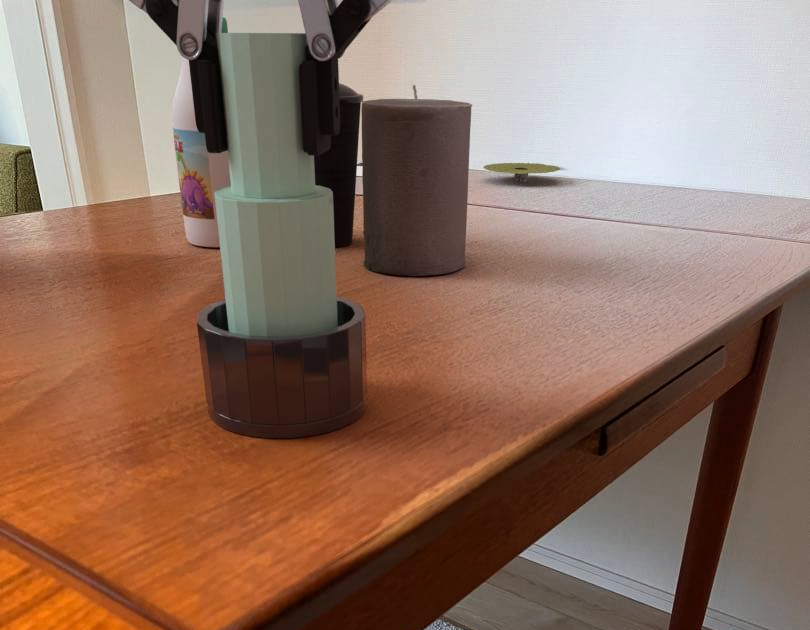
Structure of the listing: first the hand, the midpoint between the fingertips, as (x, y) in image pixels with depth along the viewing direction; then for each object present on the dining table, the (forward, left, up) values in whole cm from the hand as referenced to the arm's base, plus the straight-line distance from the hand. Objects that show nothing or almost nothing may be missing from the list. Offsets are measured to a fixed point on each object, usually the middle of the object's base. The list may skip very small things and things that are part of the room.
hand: (270, 146), depth 42 cm
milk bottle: (-18, +43, -14) cm, 49 cm away
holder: (0, 0, -14) cm, 14 cm away
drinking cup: (-7, +44, -14) cm, 47 cm away
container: (-13, +79, -14) cm, 81 cm away
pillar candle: (+3, +36, -14) cm, 39 cm away
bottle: (0, 0, -13) cm, 13 cm away
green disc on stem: (+12, +90, -14) cm, 92 cm away
